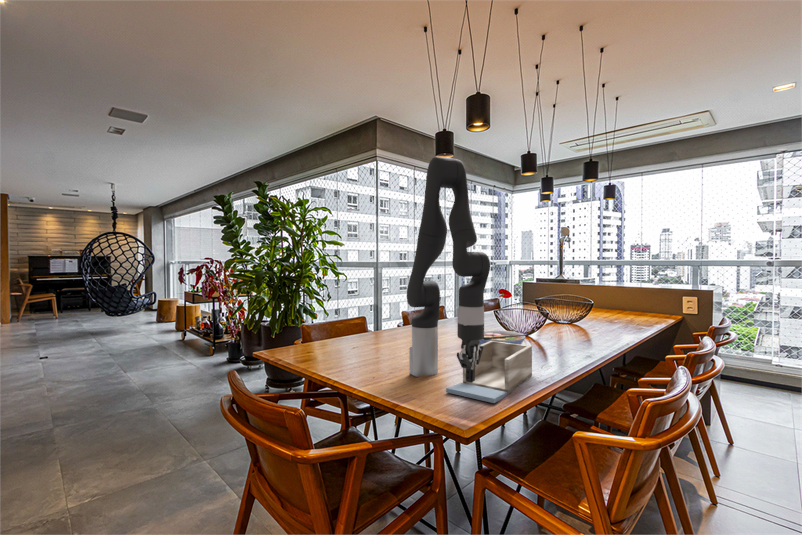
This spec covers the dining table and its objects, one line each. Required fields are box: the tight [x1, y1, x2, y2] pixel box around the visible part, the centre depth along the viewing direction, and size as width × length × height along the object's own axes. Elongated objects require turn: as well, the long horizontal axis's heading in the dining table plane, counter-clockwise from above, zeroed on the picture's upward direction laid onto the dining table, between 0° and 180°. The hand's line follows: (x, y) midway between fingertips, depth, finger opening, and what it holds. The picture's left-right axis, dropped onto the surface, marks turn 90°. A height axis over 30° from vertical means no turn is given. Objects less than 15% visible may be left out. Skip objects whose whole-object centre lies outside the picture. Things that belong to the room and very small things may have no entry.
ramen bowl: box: [479, 329, 532, 345], centre depth 167 cm, size 25×23×8 cm
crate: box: [462, 341, 533, 395], centre depth 124 cm, size 15×22×11 cm
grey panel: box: [445, 382, 509, 404], centre depth 111 cm, size 15×1×11 cm
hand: (470, 381), depth 108 cm, fingers closed
